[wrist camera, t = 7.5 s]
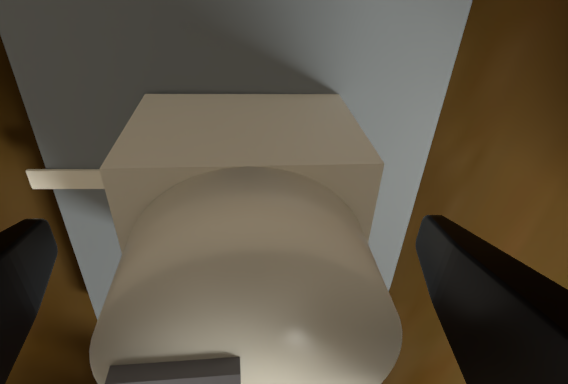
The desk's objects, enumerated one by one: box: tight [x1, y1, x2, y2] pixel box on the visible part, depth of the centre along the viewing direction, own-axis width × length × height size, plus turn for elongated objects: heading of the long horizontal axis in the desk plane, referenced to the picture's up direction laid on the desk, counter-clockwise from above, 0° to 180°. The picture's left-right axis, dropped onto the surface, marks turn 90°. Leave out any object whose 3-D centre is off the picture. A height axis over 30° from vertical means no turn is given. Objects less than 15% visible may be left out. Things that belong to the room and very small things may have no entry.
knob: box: [89, 94, 402, 384], centre depth 9 cm, size 5×5×6 cm
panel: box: [0, 0, 472, 320], centre depth 10 cm, size 12×13×5 cm
